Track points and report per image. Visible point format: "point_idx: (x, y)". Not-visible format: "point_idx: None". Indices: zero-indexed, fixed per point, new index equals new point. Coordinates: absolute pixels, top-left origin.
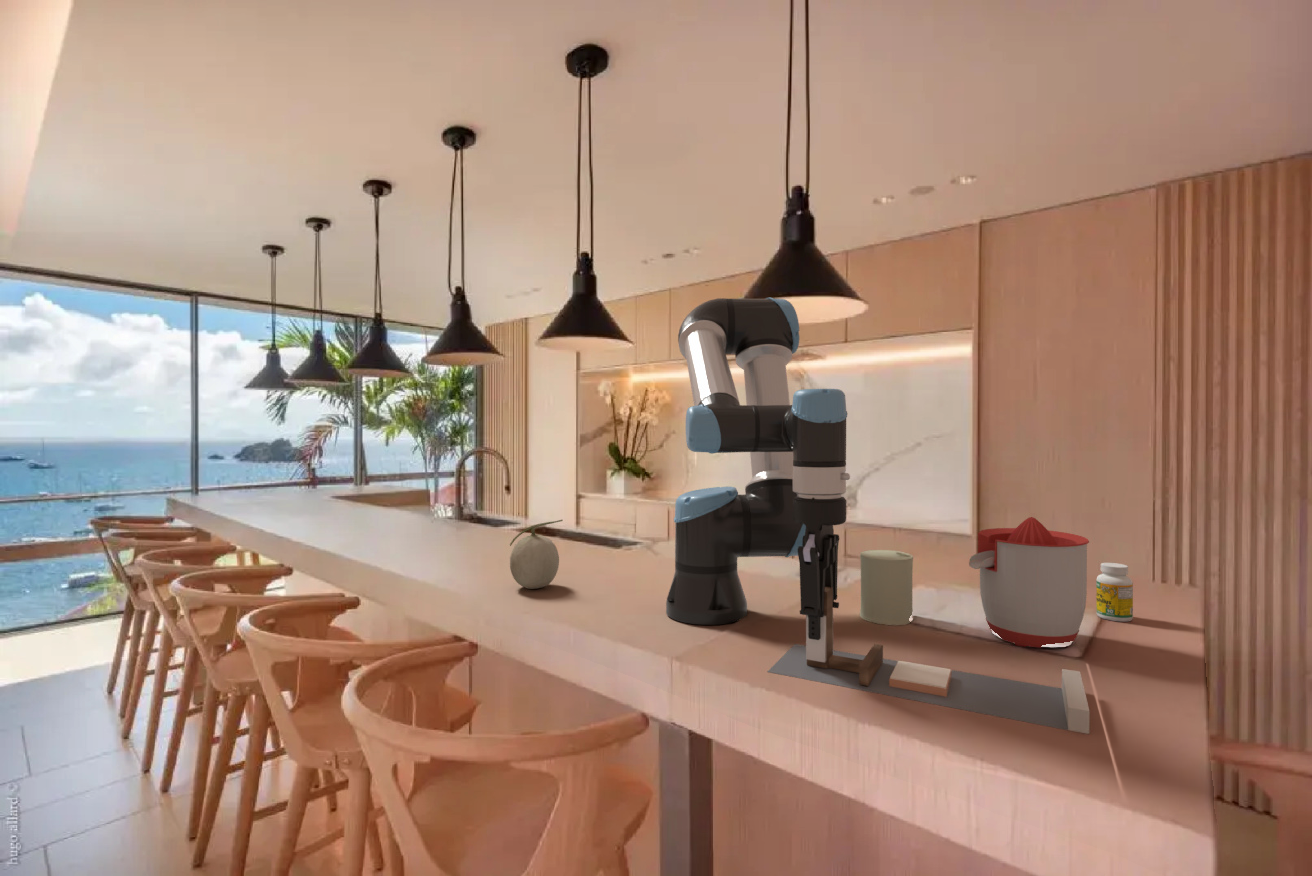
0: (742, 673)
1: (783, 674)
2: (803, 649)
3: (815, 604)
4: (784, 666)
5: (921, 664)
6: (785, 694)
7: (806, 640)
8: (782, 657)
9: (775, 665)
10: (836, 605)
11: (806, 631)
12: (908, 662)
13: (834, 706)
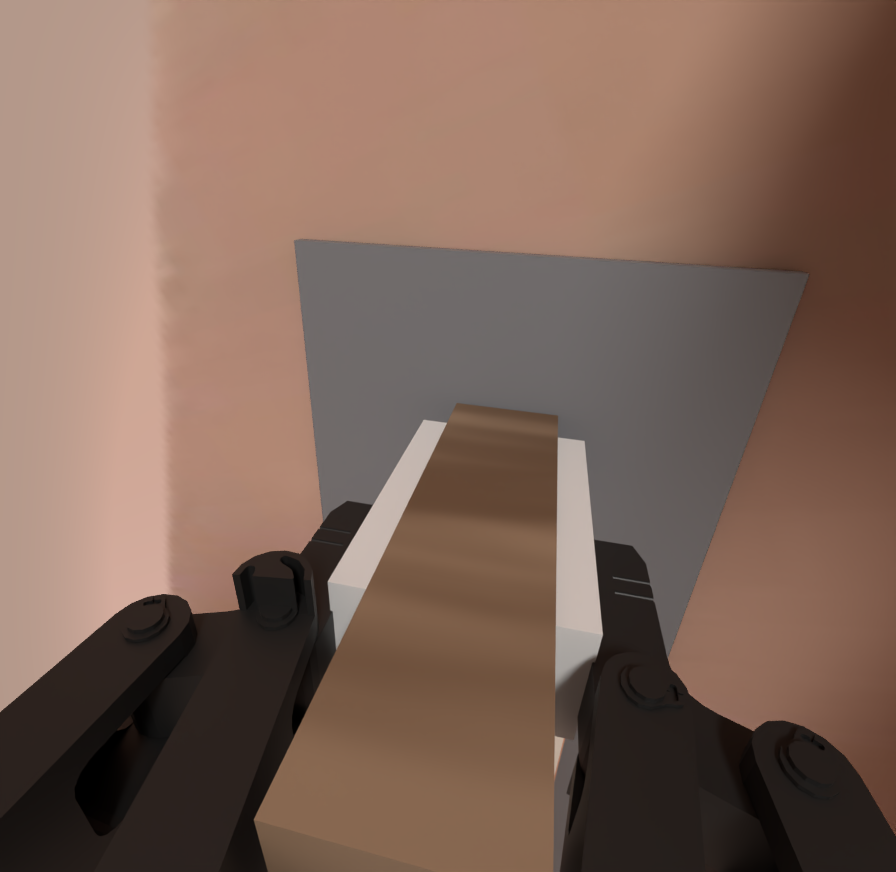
0: (243, 101)
1: (307, 324)
2: (701, 345)
3: (87, 767)
4: (398, 305)
5: (554, 763)
6: (176, 365)
7: (394, 469)
8: (522, 260)
9: (389, 257)
10: (568, 792)
11: (377, 500)
12: (559, 737)
13: (201, 515)
